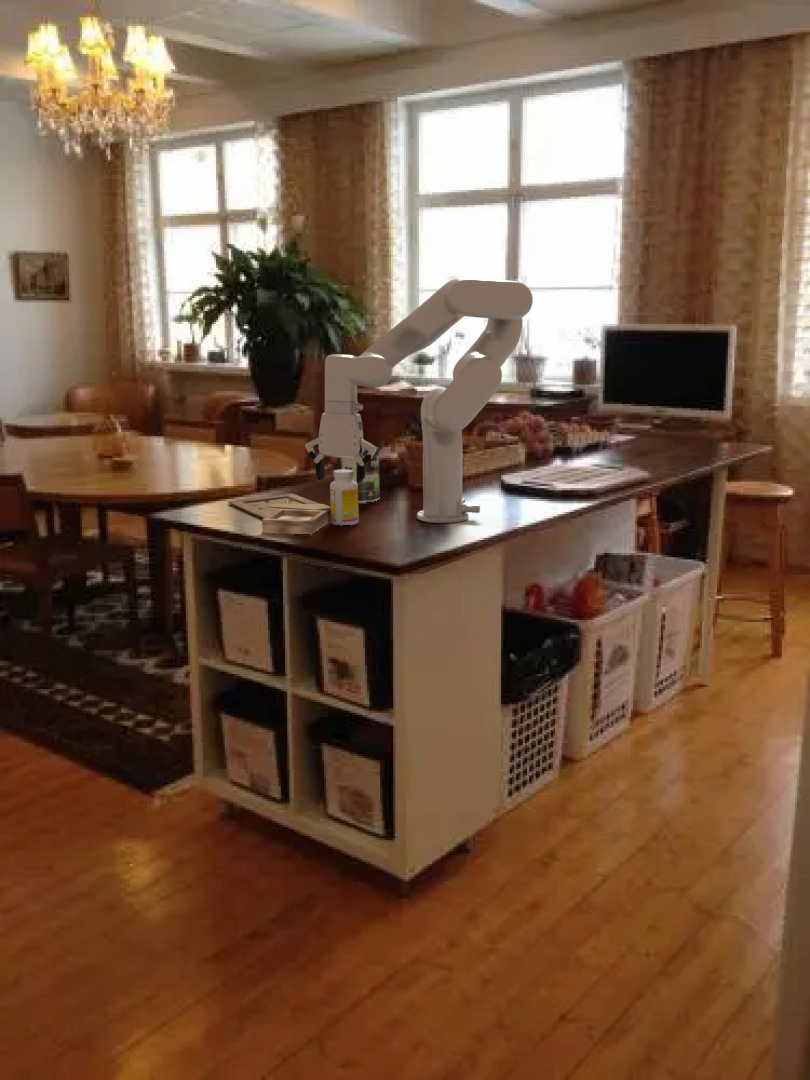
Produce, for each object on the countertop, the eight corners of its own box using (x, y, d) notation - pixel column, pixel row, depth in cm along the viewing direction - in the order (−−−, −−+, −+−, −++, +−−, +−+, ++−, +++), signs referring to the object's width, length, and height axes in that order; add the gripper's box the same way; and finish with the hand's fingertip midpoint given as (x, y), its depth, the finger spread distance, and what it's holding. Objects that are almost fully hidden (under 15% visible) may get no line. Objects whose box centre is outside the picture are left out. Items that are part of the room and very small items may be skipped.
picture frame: (332, 514, 248) (292, 498, 267) (332, 507, 247) (292, 492, 267) (265, 523, 238) (228, 507, 258) (264, 516, 238) (228, 500, 257)
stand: (327, 523, 234) (327, 510, 233) (311, 535, 223) (311, 521, 222) (280, 521, 237) (280, 508, 236) (262, 533, 226) (261, 519, 225)
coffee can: (383, 496, 265) (383, 445, 262) (375, 504, 256) (374, 451, 252) (347, 495, 267) (345, 444, 264) (337, 503, 258) (335, 450, 254)
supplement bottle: (363, 521, 236) (362, 469, 233) (350, 527, 230) (349, 474, 227) (339, 519, 239) (337, 467, 235) (326, 525, 233) (324, 472, 230)
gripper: (380, 408, 229) (379, 480, 233) (310, 405, 233) (310, 475, 237) (372, 411, 222) (371, 485, 226) (300, 408, 226) (300, 480, 230)
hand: (340, 480), depth 232 cm, fingers open, 9 cm apart
